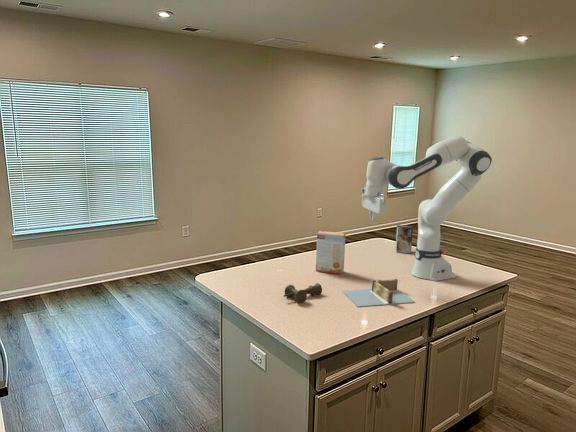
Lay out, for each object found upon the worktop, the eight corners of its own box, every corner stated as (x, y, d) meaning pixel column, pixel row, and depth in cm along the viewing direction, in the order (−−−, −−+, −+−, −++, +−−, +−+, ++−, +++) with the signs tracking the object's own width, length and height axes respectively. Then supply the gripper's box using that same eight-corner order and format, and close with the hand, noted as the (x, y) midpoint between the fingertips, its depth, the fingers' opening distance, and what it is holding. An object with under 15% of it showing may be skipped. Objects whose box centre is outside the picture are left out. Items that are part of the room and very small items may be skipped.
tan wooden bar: (370, 290, 202) (371, 280, 201) (374, 289, 203) (374, 279, 202) (389, 303, 188) (390, 292, 187) (392, 302, 188) (393, 292, 187)
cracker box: (343, 271, 230) (346, 232, 226) (341, 274, 225) (343, 235, 220) (318, 267, 235) (319, 230, 230) (315, 271, 229) (316, 232, 225)
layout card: (395, 287, 208) (396, 276, 207) (414, 302, 191) (416, 290, 190) (342, 291, 202) (342, 280, 201) (357, 307, 185) (358, 294, 183)
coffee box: (410, 250, 273) (412, 225, 270) (411, 253, 267) (413, 228, 263) (395, 249, 274) (397, 224, 271) (395, 252, 268) (397, 227, 265)
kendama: (325, 298, 195) (289, 306, 184) (312, 291, 203) (276, 299, 191) (326, 285, 194) (290, 292, 183) (313, 279, 202) (277, 286, 190)
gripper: (391, 194, 198) (388, 224, 201) (371, 188, 217) (370, 215, 220) (378, 195, 196) (376, 225, 199) (360, 188, 216) (358, 216, 218)
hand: (372, 220), depth 210 cm, fingers closed
